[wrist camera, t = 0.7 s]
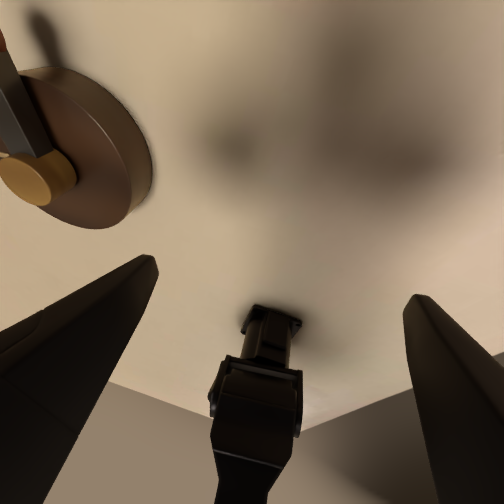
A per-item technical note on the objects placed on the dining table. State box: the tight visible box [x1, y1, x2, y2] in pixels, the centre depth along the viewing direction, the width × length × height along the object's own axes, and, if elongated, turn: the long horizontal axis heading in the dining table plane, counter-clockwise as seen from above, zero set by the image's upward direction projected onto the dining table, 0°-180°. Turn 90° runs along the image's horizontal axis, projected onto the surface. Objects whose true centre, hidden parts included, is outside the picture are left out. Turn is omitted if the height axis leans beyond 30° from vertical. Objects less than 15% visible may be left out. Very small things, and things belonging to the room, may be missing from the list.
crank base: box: [0, 67, 152, 229], centre depth 22 cm, size 12×12×4 cm
